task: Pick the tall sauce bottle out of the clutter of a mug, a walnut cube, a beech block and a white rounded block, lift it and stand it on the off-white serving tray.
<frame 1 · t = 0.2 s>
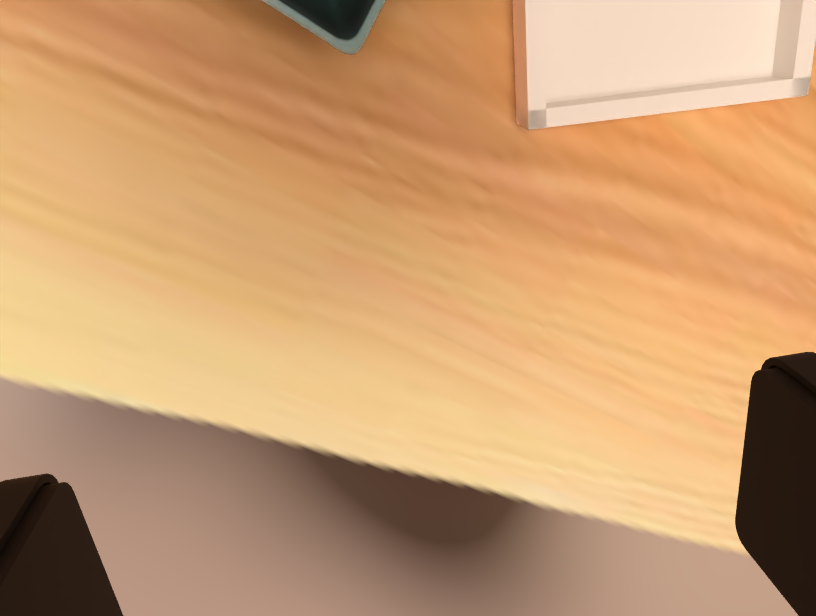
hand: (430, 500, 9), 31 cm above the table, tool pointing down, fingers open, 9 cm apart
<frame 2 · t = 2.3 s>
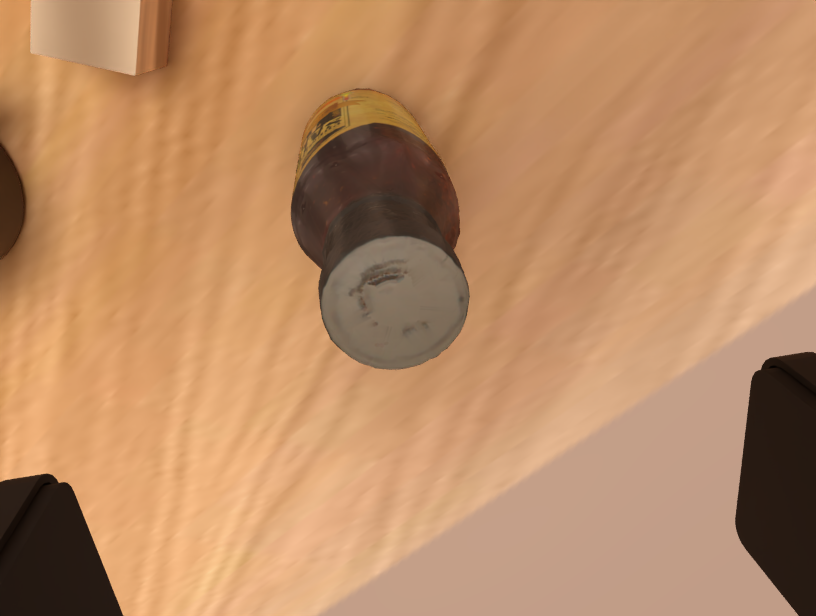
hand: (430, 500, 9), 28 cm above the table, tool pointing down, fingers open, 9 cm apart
beech block: (127, 12, 31), on the table
sauce bottle: (360, 149, 35), on the table
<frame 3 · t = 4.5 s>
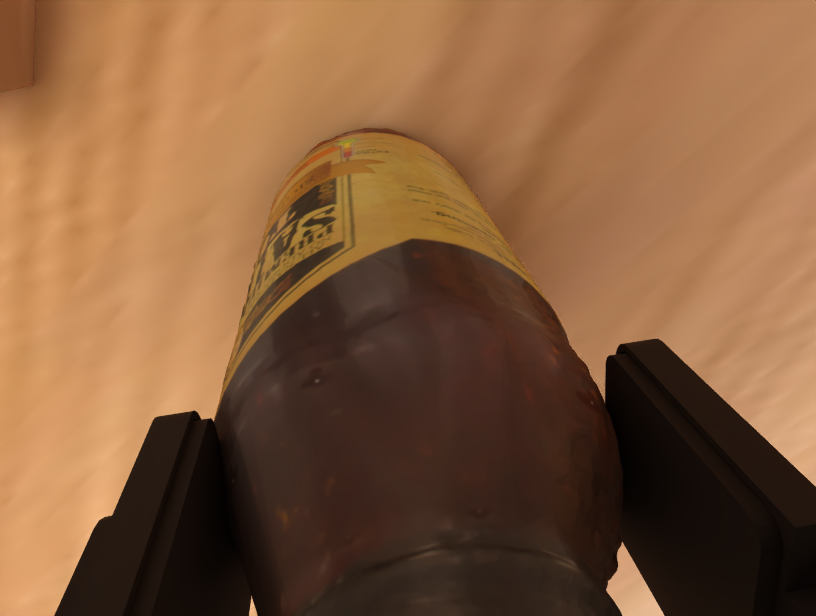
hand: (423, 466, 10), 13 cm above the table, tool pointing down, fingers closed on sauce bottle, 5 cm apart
sauce bottle: (369, 225, 21), on the table, touching gripper
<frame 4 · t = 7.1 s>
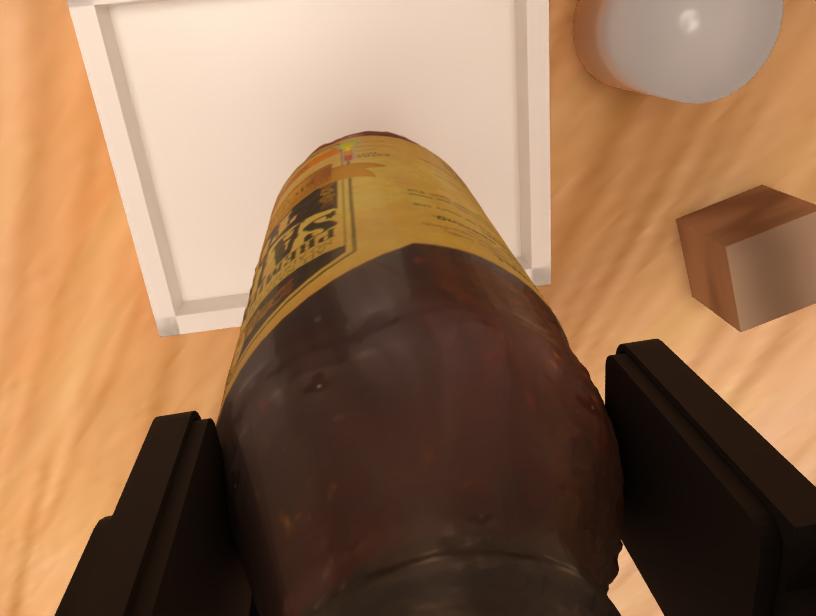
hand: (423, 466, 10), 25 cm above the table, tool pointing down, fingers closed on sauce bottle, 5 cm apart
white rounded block: (632, 23, 32), on the table
walnut cube: (725, 241, 37), on the table
tray: (336, 142, 33), on the table
sauce bottle: (370, 227, 22), point 13 cm above the table, touching gripper
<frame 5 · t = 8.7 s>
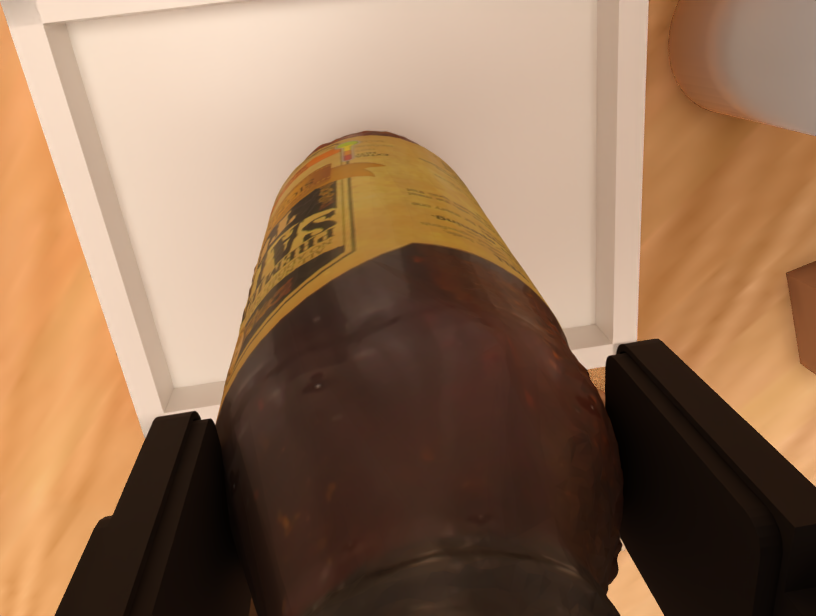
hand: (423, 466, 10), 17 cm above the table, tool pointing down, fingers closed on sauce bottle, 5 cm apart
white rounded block: (745, 31, 25), on the table
tray: (365, 190, 26), on the table
sauce bottle: (369, 227, 21), point 5 cm above the table, touching gripper
when the fingers open (14 cm above the table, at t = 9.8 s): sauce bottle stays where it is, resting on tray.
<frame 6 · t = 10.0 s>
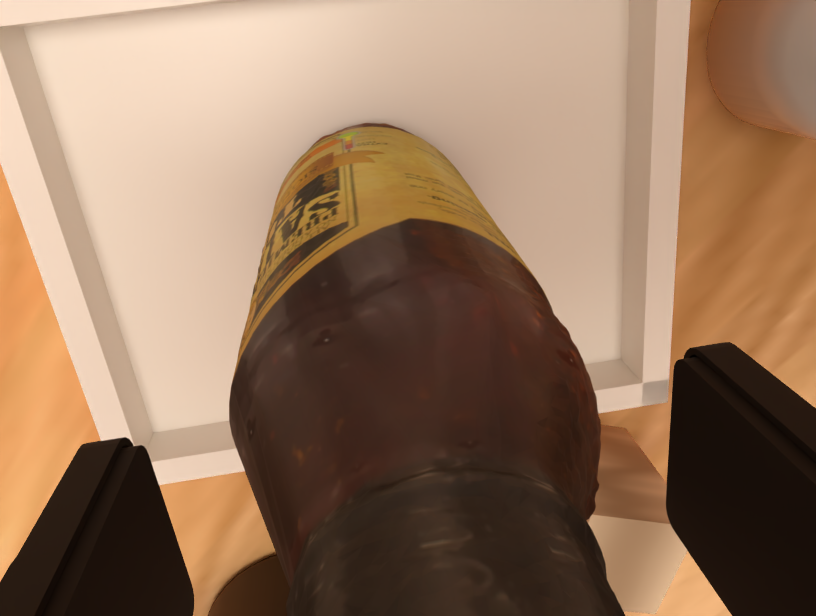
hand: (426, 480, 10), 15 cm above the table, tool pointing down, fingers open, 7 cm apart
beech block: (567, 461, 28), on the table
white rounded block: (792, 35, 22), on the table
tray: (366, 213, 23), on the table
sauce bottle: (369, 215, 23), resting on tray
mug: (332, 605, 30), on the table
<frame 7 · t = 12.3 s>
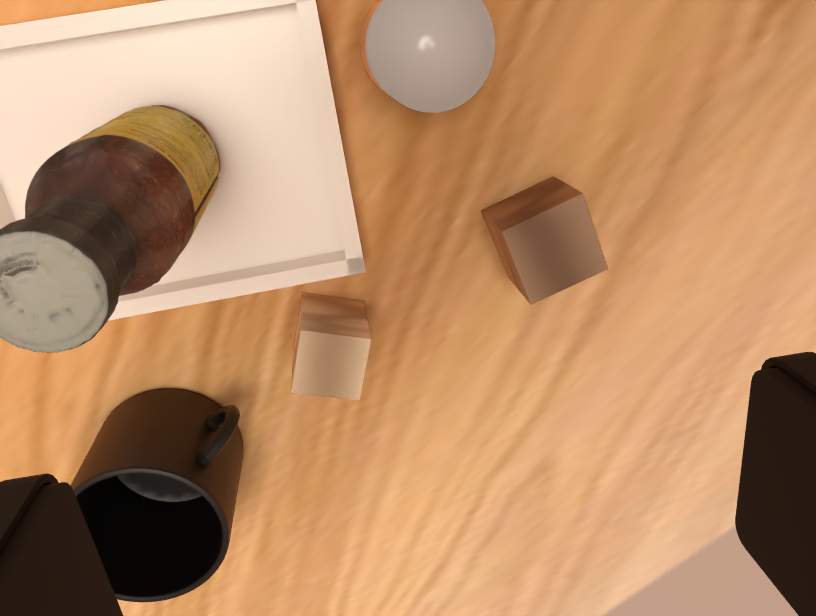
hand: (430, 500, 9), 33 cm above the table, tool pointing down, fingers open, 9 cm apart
beech block: (328, 324, 43), on the table
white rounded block: (412, 45, 38), on the table
walnut cube: (529, 227, 43), on the table
tray: (167, 161, 38), on the table
sauce bottle: (168, 162, 38), resting on tray
mug: (185, 433, 45), on the table
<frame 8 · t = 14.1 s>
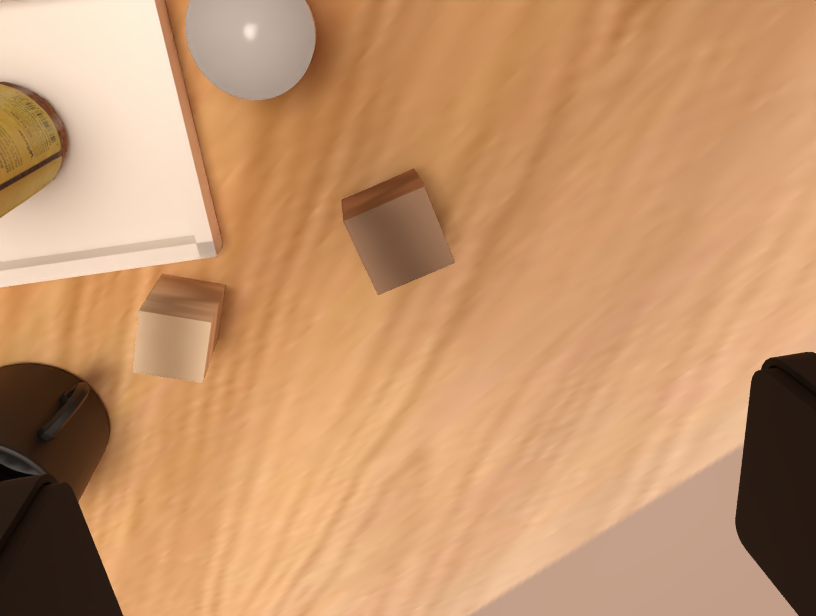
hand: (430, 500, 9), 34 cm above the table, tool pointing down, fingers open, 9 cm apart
beech block: (190, 307, 44), on the table
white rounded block: (263, 32, 38), on the table
walnut cube: (392, 219, 43), on the table
tray: (18, 138, 38), on the table
sauce bottle: (17, 138, 38), resting on tray
mug: (52, 408, 46), on the table
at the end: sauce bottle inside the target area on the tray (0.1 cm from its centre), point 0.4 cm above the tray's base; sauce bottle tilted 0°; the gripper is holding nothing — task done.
